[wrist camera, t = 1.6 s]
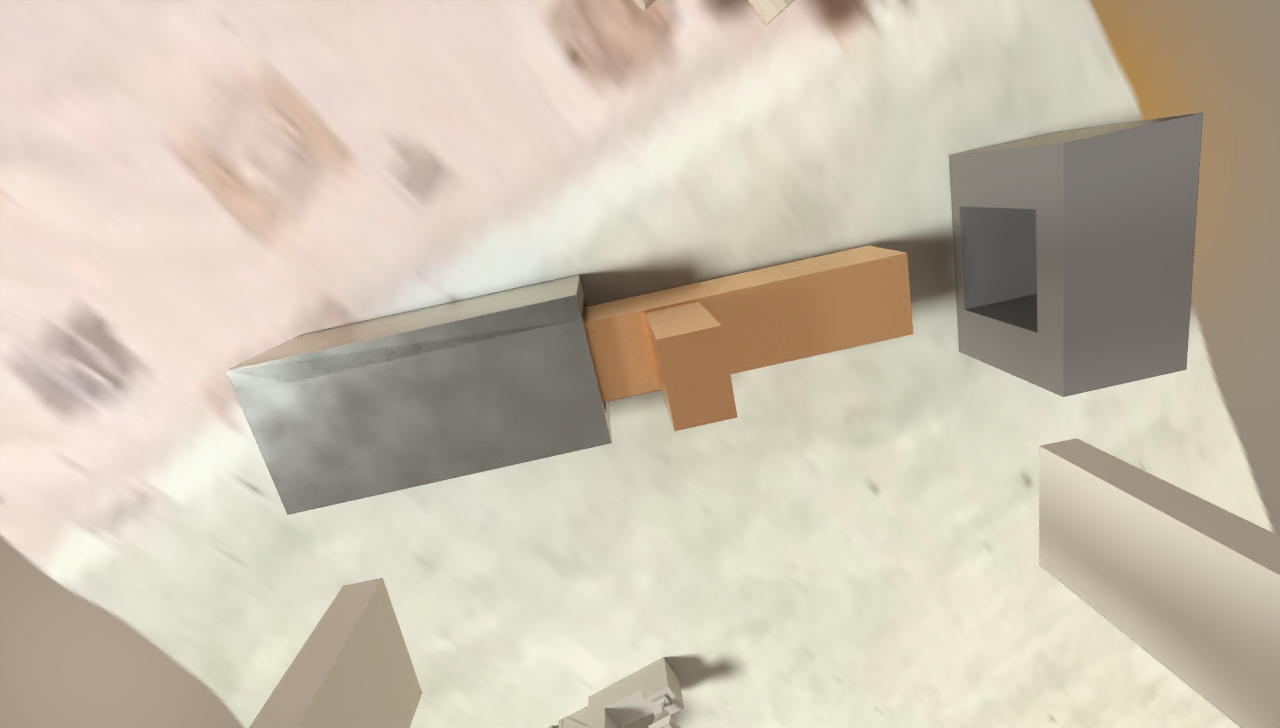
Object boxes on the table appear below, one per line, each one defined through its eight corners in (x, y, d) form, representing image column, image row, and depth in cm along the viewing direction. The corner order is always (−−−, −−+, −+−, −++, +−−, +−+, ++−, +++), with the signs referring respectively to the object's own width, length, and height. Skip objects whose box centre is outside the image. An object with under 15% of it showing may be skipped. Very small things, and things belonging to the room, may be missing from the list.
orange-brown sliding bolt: (367, 354, 35) (274, 421, 24) (868, 245, 35) (979, 266, 25) (391, 423, 36) (312, 513, 26) (875, 317, 36) (983, 364, 26)
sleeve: (300, 334, 35) (225, 370, 28) (579, 274, 36) (575, 294, 28) (346, 453, 38) (287, 514, 31) (608, 395, 38) (611, 443, 31)
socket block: (949, 155, 35) (1063, 142, 27) (1055, 132, 35) (1203, 112, 27) (959, 351, 39) (1063, 396, 30) (1055, 330, 39) (1186, 369, 30)
